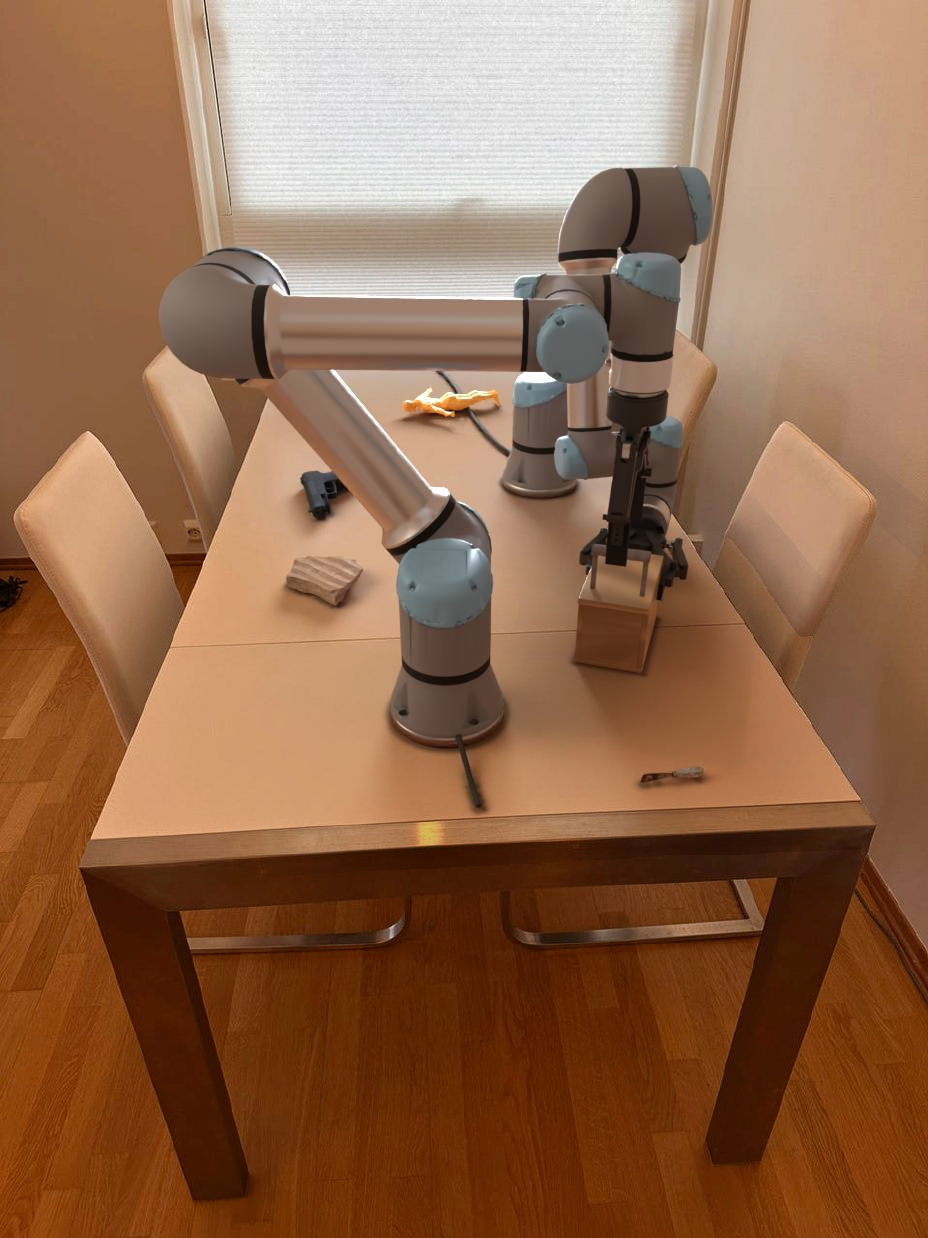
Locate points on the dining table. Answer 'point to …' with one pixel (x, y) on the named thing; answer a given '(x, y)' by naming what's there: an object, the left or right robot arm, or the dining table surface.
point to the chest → (614, 636)
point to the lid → (622, 581)
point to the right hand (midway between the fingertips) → (624, 587)
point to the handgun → (321, 491)
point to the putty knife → (674, 774)
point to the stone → (323, 576)
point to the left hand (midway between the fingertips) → (624, 541)
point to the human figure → (448, 402)
